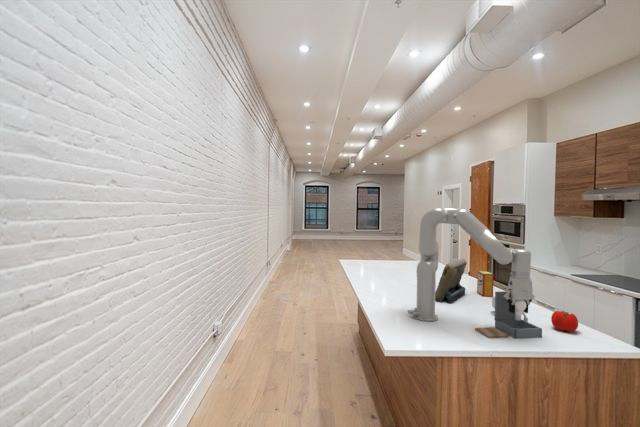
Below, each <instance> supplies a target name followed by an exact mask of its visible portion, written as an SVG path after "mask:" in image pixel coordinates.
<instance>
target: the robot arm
mask: <svg viewBox="0 0 640 427" xmlns="http://www.w3.org/2000/svg"><path fill="white" fill-rule="evenodd" d="M439 224H450V225H458V226H459V227H460V228H461V229H462V230H463V231H464V232H465V233H467V235H468V236H470V238H471V239H473V241H474V242H475V243H476V244H478V245H479V246H480V247H481V248H482V249H483V250H484V251H485V252H486V253H487V254H489V256H490V257H491V258H493V259H494V260H495V262H497V263H498V264H500V265H508V264H511V272H510V273H509V275H510V277H509V280H508V284H507V290H506V291H507V293H506V294H505V295H504V298H505V299H506V301H507V302H508V303H509V312H511V313H515V305H514V303H515V301H516V300H524V301H525V302H526V305H527V307H526V309H525V310H524V311H523V312H524V313H525V314H528V313H529V305H530V304H531V303H532V301H533V299H535V295H534V294H533V283H532V278H530V277H531V264H532V263H531V261H532V253H531V252H532V251H531V250H528V249H523V248H511V247H506V246H505V245H504V244H503V243H502V242H501V241H499V239H498V238H496V236H495V235H494V234H493V233H492V232H491V230H490V229H489V228H488V227H487V226H486V225H484V223H482V222H481V221H480V220H479V219H478V218H477V217H476V216H475V215H474V214H473V213H472V212H470V210H468V209H467V208H446V207H435V208H431V209H430V210H428V211H427V212H425V213H424V215H423V216H422V218H421V220H420V225H419V237H418V240H419V241H418V251H419V254H420V261H419V262H418V263H417V264H416V307H414V309H408V310H407V314H408V315H412V316H413V318H415V319H417V320H419V321H423V322H435V321H436V322H437V321H438V320H439V316H438V315H437V314H436V300H435V292H436V290H437V288H436V286H437V285H436V283H437V282H436V275H437V274H436V272H437V270H438V268H439V250H440V249H439V243H438V241H437V227H438V226H439ZM509 297H510V298H509ZM512 299H513V300H512Z"/></svg>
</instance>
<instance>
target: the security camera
mask: <svg viewBox="0 0 640 427" xmlns="http://www.w3.org/2000/svg"><path fill="white" fill-rule="evenodd" d="M491 306H492V308H493V309H494V310H490V314H491V315H492V316H493V317H495V295H493V296H492V297H491Z"/></svg>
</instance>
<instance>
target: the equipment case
mask: <svg viewBox="0 0 640 427" xmlns="http://www.w3.org/2000/svg"><path fill="white" fill-rule="evenodd" d="M507 291H508V290H506V291H503V290H502V291H495V292H494V296H495V309H494V311H495V316H494V328H496V329H498V330H500V331H502V332H504V333H505V334H507V335H509V336H510V338H514V339H533V338H542V337H543V328H542V327H540V326H537V325H535V324H532V323H530V322H529V318H528V317H527V315H526V313H525V312H523V313H522V315H523V319H522V318H521V320H520V321H517V320H515V313H511V312H509V303H508V302H507V301H506V299H505V298H504V295H505V294H506V293H507ZM509 298H510V297H509ZM512 300H513V299H512Z"/></svg>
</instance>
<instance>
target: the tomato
mask: <svg viewBox="0 0 640 427" xmlns="http://www.w3.org/2000/svg"><path fill="white" fill-rule="evenodd" d="M550 319H551V324H552V326H553V327H554V328H555V329H556V330H558V331H562V332H563V331H565V332H567V333H569V332H570V333H571V332H574V331H577V329H578V328H579V320H578V317H577V316H576V314H574V313H569V312H568V311H564V310H561V311H559V310H555V311H554V312H553V313H552V315H551V317H550Z"/></svg>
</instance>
